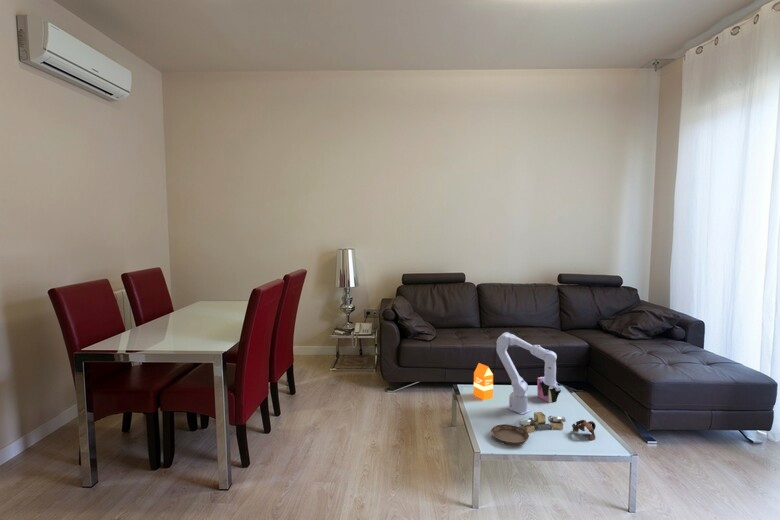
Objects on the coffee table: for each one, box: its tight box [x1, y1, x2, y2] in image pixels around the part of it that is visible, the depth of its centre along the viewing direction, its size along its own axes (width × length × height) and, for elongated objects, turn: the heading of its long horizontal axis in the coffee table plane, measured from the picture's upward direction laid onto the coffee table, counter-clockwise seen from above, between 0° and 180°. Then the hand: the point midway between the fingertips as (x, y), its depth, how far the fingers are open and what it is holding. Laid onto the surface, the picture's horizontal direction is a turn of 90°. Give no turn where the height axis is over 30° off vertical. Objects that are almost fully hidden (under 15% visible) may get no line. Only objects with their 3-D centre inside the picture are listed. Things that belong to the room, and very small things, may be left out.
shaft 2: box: [547, 415, 566, 430], centre depth 197 cm, size 8×4×6 cm, turn 86°
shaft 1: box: [519, 417, 535, 434], centre depth 194 cm, size 8×4×6 cm, turn 116°
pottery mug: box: [571, 419, 597, 441], centre depth 189 cm, size 12×10×8 cm
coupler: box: [533, 411, 546, 426], centre depth 197 cm, size 6×4×6 cm
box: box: [536, 376, 553, 404], centre depth 231 cm, size 10×6×12 cm, turn 17°
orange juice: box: [473, 362, 494, 401], centre depth 235 cm, size 8×9×20 cm
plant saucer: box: [490, 423, 530, 447], centre depth 186 cm, size 18×18×3 cm
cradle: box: [533, 422, 550, 431], centre depth 198 cm, size 6×7×3 cm
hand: (549, 398), depth 208 cm, fingers open, 7 cm apart
